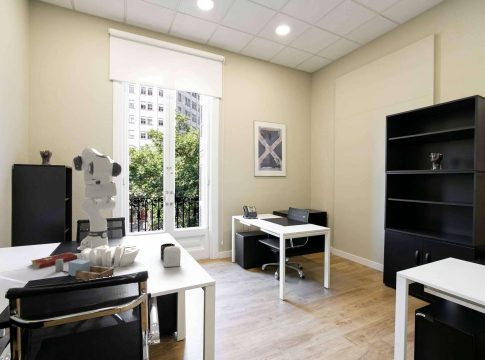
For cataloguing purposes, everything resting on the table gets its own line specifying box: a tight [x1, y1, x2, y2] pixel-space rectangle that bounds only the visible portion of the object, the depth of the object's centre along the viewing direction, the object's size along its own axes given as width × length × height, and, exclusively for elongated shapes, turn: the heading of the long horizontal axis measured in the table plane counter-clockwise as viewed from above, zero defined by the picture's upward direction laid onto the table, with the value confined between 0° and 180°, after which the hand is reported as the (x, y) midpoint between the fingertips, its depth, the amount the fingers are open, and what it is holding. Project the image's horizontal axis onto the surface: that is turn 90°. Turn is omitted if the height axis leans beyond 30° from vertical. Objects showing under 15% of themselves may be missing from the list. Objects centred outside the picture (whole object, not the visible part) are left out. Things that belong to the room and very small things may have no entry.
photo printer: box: [163, 245, 181, 268], centre depth 157 cm, size 10×4×12 cm, turn 103°
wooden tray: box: [75, 265, 115, 281], centre depth 137 cm, size 16×9×4 cm, turn 74°
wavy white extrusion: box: [80, 243, 141, 268], centre depth 160 cm, size 35×16×11 cm, turn 98°
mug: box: [160, 242, 176, 261], centre depth 171 cm, size 9×12×9 cm
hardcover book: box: [31, 251, 79, 270], centre depth 160 cm, size 12×21×4 cm, turn 147°
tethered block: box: [55, 259, 90, 277], centre depth 142 cm, size 22×5×8 cm, turn 74°
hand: (101, 204), depth 151 cm, fingers open, 8 cm apart
